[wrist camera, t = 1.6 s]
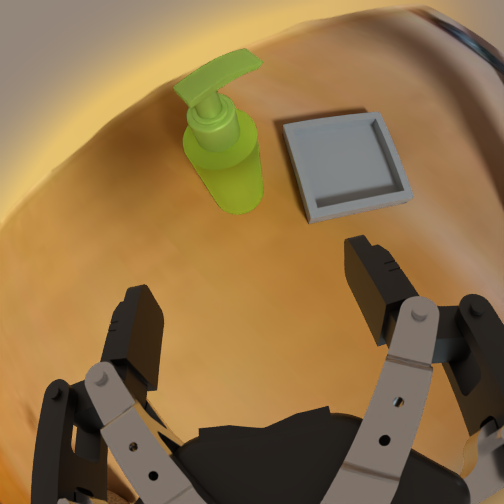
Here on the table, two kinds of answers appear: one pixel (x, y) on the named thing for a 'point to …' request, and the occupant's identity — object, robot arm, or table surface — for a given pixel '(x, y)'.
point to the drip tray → (345, 165)
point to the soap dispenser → (222, 133)
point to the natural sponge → (115, 498)
